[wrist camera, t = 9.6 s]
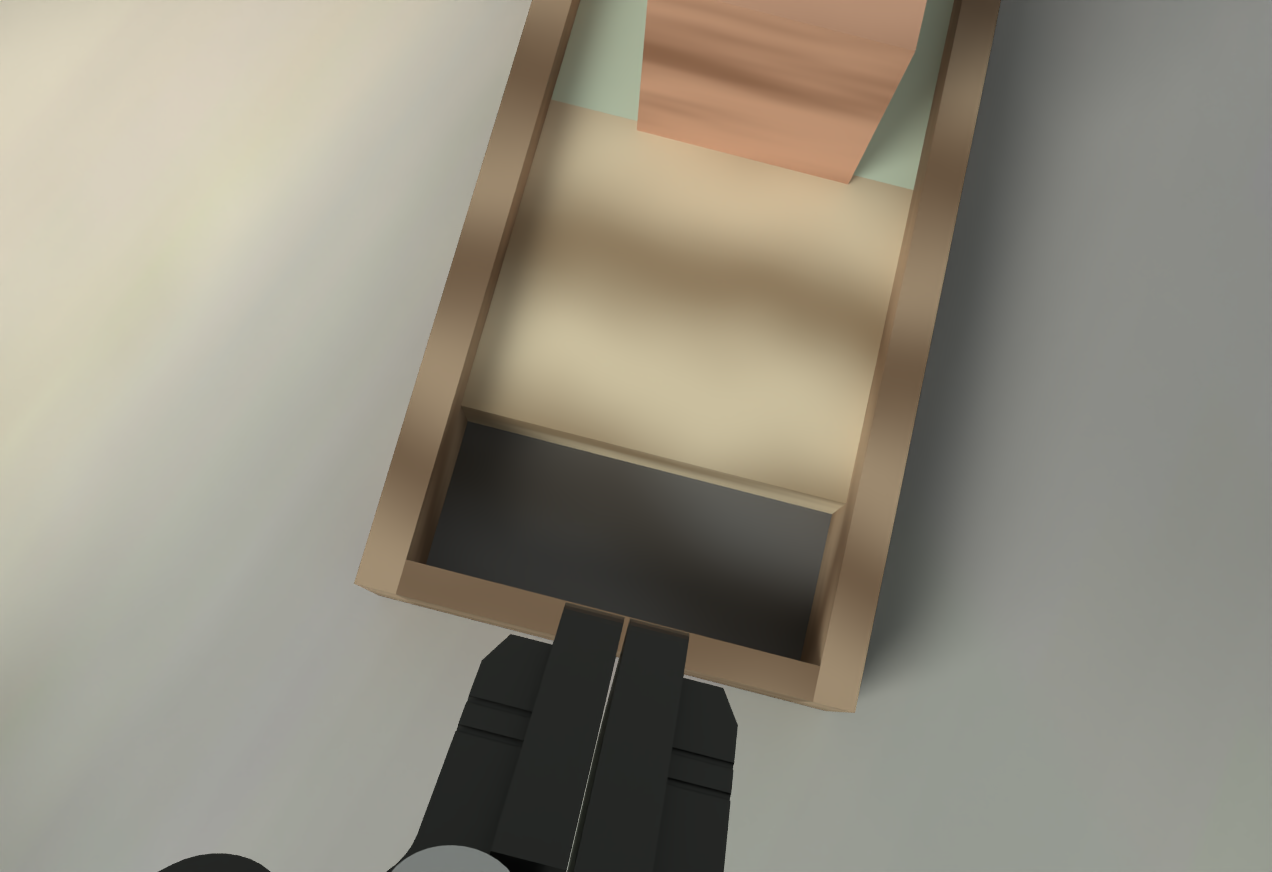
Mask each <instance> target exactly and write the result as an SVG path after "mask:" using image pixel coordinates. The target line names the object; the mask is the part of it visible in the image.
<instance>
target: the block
mask: <svg viewBox="0 0 1272 872" xmlns="http://www.w3.org/2000/svg"><path fill="white" fill-rule="evenodd" d="M926 3H927V0H647V12H646V24H645V36H644V48H643V60H642V72H641V84H640V96H639V108H638V120H637V130H638V131H642V132H646V133H650V134H653V135H657V136H661V137H665V138H669V139H673V140H677V141H681V142H685V143H688V144H692V145H696V146H700V147H704V148H708V149H712V150H716V151H720V152H724V153H727V154H731V155H735V156H739V157H743V158H747V159H751V160H755V161H759V162H763V163H766V164H770V165H774V166H778V167H782V168H786V169H790V170H794V171H798V172H802V173H805V174H809V175H813V176H817V177H821V178H825V179H829V180H833V181H837V182H841V183H844V184H849V182H850V180H851V178H852V176H853V174H854V172H855V170H856V168H857V166H858V164H859V162H860V160H861V158H862V156H863V154H864V152H865V150H866V148H867V146H868V144H869V142H870V140H871V138H872V136H873V134H874V132H875V130H876V128H877V126H878V124H879V122H880V120H881V118H882V116H883V114H884V112H885V110H886V108H887V107H888V105H889V103H890V101H891V99H892V97H893V95H894V93H895V91H896V89H897V87H898V85H899V83H900V81H901V79H902V77H903V75H904V73H905V71H906V69H907V67H908V65H909V63H910V61H911V59H912V57H913V55H914V53H915V51H916V46H917V42H918V38H919V33H920V29H921V24H922V20H923V16H924V11H925V7H926Z"/></svg>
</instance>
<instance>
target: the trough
mask: <svg viewBox="0 0 1272 872" xmlns="http://www.w3.org/2000/svg"><path fill="white" fill-rule="evenodd" d="M579 3H580V0H532V3H531V6H530V9H529V12H528V16H527V19H526V22H525V25H524V29H523V32H522V35H521V39H520V42H519V45H518V48H517V52H516V55H515V58H514V61H513V65H512V68H511V71H510V75H509V78H508V81H507V84H506V88H505V91H504V94H503V98H502V101H501V104H500V107H499V111H498V114H497V117H496V120H495V124H494V127H493V130H492V134H491V137H490V140H489V143H488V147H487V150H486V153H485V157H484V160H483V163H482V166H481V170H480V173H479V176H478V179H477V183H476V186H475V189H474V193H473V196H472V199H471V202H470V206H469V209H468V212H467V215H466V219H465V222H464V225H463V229H462V232H461V235H460V238H459V242H458V245H457V248H456V252H455V255H454V258H453V261H452V265H451V268H450V271H449V274H448V278H447V281H446V284H445V288H444V291H443V294H442V297H441V301H440V304H439V307H438V311H437V314H436V317H435V320H434V324H433V327H432V330H431V333H430V337H429V340H428V343H427V347H426V350H425V353H424V356H423V360H422V363H421V366H420V369H419V373H418V376H417V379H416V383H415V386H414V389H413V392H412V396H411V399H410V402H409V406H408V409H407V412H406V415H405V419H404V422H403V425H402V428H401V432H400V435H399V438H398V442H397V445H396V448H395V451H394V455H393V458H392V461H391V464H390V468H389V471H388V474H387V478H386V481H385V484H384V487H383V491H382V494H381V497H380V501H379V504H378V507H377V510H376V514H375V517H374V520H373V523H372V527H371V530H370V533H369V537H368V540H367V543H366V546H365V550H364V553H363V556H362V560H361V563H360V566H359V569H358V573H357V576H356V579H355V582H354V584H356V585H358V586H361V587H363V588H365V589H367V590H369V591H371V592H373V593H375V594H377V595H379V596H383V597H387V598H391V599H395V600H399V601H403V602H406V603H410V604H414V605H418V606H422V607H426V608H430V609H434V610H437V611H441V612H445V613H449V614H453V615H457V616H461V617H465V618H468V619H472V620H476V621H480V622H484V623H488V624H492V625H495V626H499V627H503V628H507V629H511V630H515V631H519V632H523V633H526V634H530V635H534V636H538V637H542V638H546V639H550V640H554V639H555V635H556V632H557V629H558V625H559V622H560V619H561V615H562V612H563V609H564V606H565V603H566V602H568V603H572V604H576V605H580V606H584V607H587V608H591V609H595V610H599V611H603V612H607V613H611V614H615V615H619V616H623V617H625V619H624V624H623V628H622V632H621V637H620V641H619V645H618V650H617V654H616V657H620V653H621V649H622V646H623V642H624V638H625V634H626V631H627V627H628V624H629V620H630V618H632V619H636V620H640V621H644V622H648V623H651V624H655V625H659V626H663V627H667V628H671V629H675V630H679V631H683V632H687V633H689V644H688V650H687V657H686V663H685V669H684V674H685V675H689V676H693V677H697V678H701V679H705V680H708V681H712V682H716V683H720V684H724V685H728V686H732V687H736V688H739V689H743V690H747V691H751V692H755V693H759V694H763V695H767V696H770V697H774V698H778V699H782V700H786V701H790V702H794V703H798V704H801V705H805V706H809V707H813V708H817V709H821V710H825V711H835V712H851V713H855V710H856V705H857V700H858V695H859V690H860V685H861V680H862V676H863V671H864V666H865V661H866V656H867V651H868V646H869V641H870V637H871V632H872V627H873V622H874V617H875V612H876V607H877V602H878V598H879V593H880V588H881V583H882V578H883V573H884V568H885V563H886V559H887V554H888V549H889V544H890V539H891V534H892V529H893V524H894V520H895V515H896V510H897V505H898V500H899V495H900V490H901V485H902V481H903V476H904V471H905V466H906V461H907V456H908V451H909V446H910V442H911V437H912V432H913V427H914V422H915V417H916V412H917V407H918V402H919V398H920V393H921V388H922V383H923V378H924V373H925V368H926V363H927V359H928V354H929V349H930V344H931V339H932V334H933V329H934V324H935V320H936V315H937V310H938V305H939V300H940V295H941V290H942V285H943V281H944V276H945V271H946V266H947V261H948V256H949V251H950V246H951V242H952V237H953V232H954V227H955V222H956V217H957V212H958V207H959V203H960V198H961V193H962V188H963V183H964V178H965V173H966V168H967V164H968V159H969V154H970V149H971V144H972V139H973V134H974V129H975V124H976V120H977V115H978V110H979V105H980V100H981V95H982V90H983V85H984V81H985V76H986V71H987V66H988V61H989V56H990V51H991V46H992V42H993V37H994V32H995V27H996V22H997V17H998V12H999V7H1000V3H1001V0H954V3H953V8H952V13H951V17H950V22H949V27H948V31H947V36H946V41H945V45H944V50H943V55H942V59H941V64H940V69H939V73H938V78H937V82H936V87H935V92H934V96H933V101H932V106H931V110H930V115H929V120H928V124H927V129H926V134H925V138H924V143H923V148H922V152H921V157H920V162H919V166H918V171H917V175H916V180H915V185H914V189H913V190H911V189H907V188H903V187H899V186H895V185H891V184H887V183H883V182H879V181H875V180H871V179H867V178H863V177H859V176H855V175H853V176H852V178H851V180H850V182H849V184H844V183H841V182H837V181H833V180H829V179H825V178H821V177H817V176H813V175H809V174H805V173H802V172H798V171H794V170H790V169H786V168H782V167H778V166H774V165H770V164H766V163H763V162H759V161H755V160H751V159H747V158H743V157H739V156H735V155H731V154H727V153H724V152H720V151H716V150H712V149H708V148H704V147H700V146H696V145H692V144H688V143H685V142H681V141H677V140H673V139H669V138H665V137H661V136H657V135H653V134H650V133H646V132H642V131H638V130H637V121H635V120H631V119H627V118H623V117H620V116H615V115H612V114H607V113H604V112H600V111H595V110H591V109H587V108H583V107H579V106H575V105H571V104H567V103H563V102H560V101H556V100H552V99H551V98H552V95H553V91H554V88H555V85H556V81H557V78H558V75H559V71H560V68H561V64H562V61H563V58H564V54H565V51H566V47H567V44H568V41H569V37H570V34H571V30H572V27H573V24H574V20H575V17H576V13H577V10H578V7H579Z"/></svg>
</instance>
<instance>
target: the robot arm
mask: <svg viewBox="0 0 1272 872" xmlns="http://www.w3.org/2000/svg"><path fill="white" fill-rule="evenodd" d="M624 619H625V617H623V616H619V615H615V614H611V613H607V612H603V611H599V610H595V609H591V608H587V607H584V606H580V605H576V604H572V603H568V602H566V603H565V606H564V609H563V612H562V615H561V619H560V622H559V625H558V629H557V632H556V635H555V639H554V642H553V645H551V644H547V643H543V642H539V641H536V640H532V639H528V638H524V637H520V636H516V635H512V634H510V635H509V636H508V637H507V638H506V639H505V640H504V641H503V642H502V643H501V644H499V645H498V646H497V647H496V648H495V649H494V650H493V651H492V652H491V653H490V654H488V655H487V656H486V657H485V658H484V659H483V660H482V662H481V664H480V667H479V670H478V672H477V675H476V678H475V680H474V683H473V686H472V689H471V691H470V694H469V697H468V701H467V702H466V705H465V707H464V710H463V713H462V715H461V718H460V721H459V724H458V728H457V731H456V732H455V734H454V737H453V740H452V742H451V745H450V748H449V750H448V753H447V756H446V759H445V761H444V764H443V767H442V769H441V772H440V775H439V777H438V780H437V783H436V786H435V788H434V791H433V794H432V796H431V799H430V802H429V804H428V807H427V810H426V812H425V815H424V818H423V821H422V823H421V826H420V829H419V831H418V834H417V836H416V838H415V840H414V842H413V845H412V846H411V848H410V849H409V850H408V852H407V853H406V855H405V856H404V857H403V858H402V859H401V860H400V861H399V862H398V863H397V864H396V865H395V866H393V867H392V868H391V869H389V870H388V871H387V872H566V870H567V866H568V862H569V857H570V853H571V849H572V844H573V840H574V836H575V831H576V827H577V823H578V818H579V814H580V810H581V805H582V801H583V797H584V801H583V805H582V810H581V814H580V818H579V823H578V827H577V831H576V836H575V840H574V844H573V849H572V853H571V857H570V862H569V866H568V870H567V872H724V863H725V852H726V842H727V831H728V821H729V810H730V795H731V790H732V779H733V765H734V758H735V748H736V737H737V727H738V725H737V722H736V720H735V717H734V715H733V712H732V709H731V707H730V704H729V702H728V699H727V697H726V694H725V691H724V689H723V688H721V687H717V686H713V685H709V684H705V683H701V682H698V681H694V680H690V679H686V678H683V676H684V669H685V663H686V657H687V650H688V644H689V633H687V632H683V631H679V630H675V629H671V628H667V627H663V626H659V625H655V624H651V623H648V622H644V621H640V620H636V619H632V618H630V620H629V624H628V627H627V631H626V634H625V638H624V642H623V646H622V649H621V653H620V657H619V661H618V664H617V668H616V672H615V676H614V679H613V683H612V687H611V691H610V694H609V698H608V702H607V705H606V709H605V713H604V717H603V721H602V725H601V729H600V733H599V737H598V741H597V745H596V740H597V736H598V732H599V727H600V723H601V719H602V714H603V710H604V706H605V702H606V697H607V693H608V689H609V684H610V680H611V676H612V671H613V667H614V663H615V658H616V654H617V650H618V645H619V641H620V637H621V632H622V628H623V624H624ZM595 745H596V749H595ZM594 749H595V753H594ZM593 753H594V757H593ZM592 758H593V762H592ZM591 762H592V766H591ZM590 766H591V770H590ZM589 771H590V775H589ZM588 775H589V779H588ZM587 779H588V783H587ZM586 784H587V788H586ZM585 788H586V792H585ZM584 792H585V796H584ZM159 872H270V871H269V870H268V869H266V868H265V867H264V866H262V865H261V864H259V863H257V862H255V861H253V860H251V859H248V858H245V857H242V856H238V855H232V854H205V855H198V856H194V857H191V858H187V859H184V860H182V861H179V862H177V863H175V864H172V865H170V866H168V867H166V868H164V869H163V870H161V871H159Z"/></svg>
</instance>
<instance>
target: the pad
mask: <svg viewBox="0 0 1272 872" xmlns="http://www.w3.org/2000/svg"><path fill="white" fill-rule="evenodd" d="M953 3H954V0H927V3H926V7H925V11H924V16H923V20H922V24H921V29H920V33H919V38H918V42H917V46H916V51H915V53H914V55H913V57H912V59H911V61H910V63H909V65H908V67H907V69H906V71H905V73H904V75H903V77H902V79H901V81H900V83H899V85H898V87H897V89H896V91H895V93H894V95H893V97H892V99H891V101H890V103H889V105H888V107H887V108H886V110H885V112H884V114H883V116H882V118H881V120H880V122H879V124H878V126H877V128H876V130H875V132H874V134H873V136H872V138H871V140H870V142H869V144H868V146H867V148H866V150H865V152H864V154H863V156H862V158H861V160H860V162H859V164H858V166H857V168H856V170H855V172H854V174H853V175H855V176H859V177H863V178H867V179H871V180H875V181H879V182H883V183H887V184H891V185H895V186H899V187H903V188H907V189H911V190H913V189H914V185H915V180H916V175H917V171H918V166H919V162H920V157H921V152H922V148H923V143H924V138H925V134H926V129H927V124H928V120H929V115H930V110H931V106H932V101H933V96H934V92H935V87H936V82H937V78H938V73H939V69H940V64H941V59H942V55H943V50H944V45H945V41H946V36H947V31H948V27H949V22H950V17H951V13H952V8H953ZM646 12H647V0H580V3H579V7H578V10H577V13H576V17H575V20H574V24H573V27H572V30H571V34H570V37H569V41H568V44H567V47H566V51H565V54H564V58H563V61H562V64H561V68H560V71H559V75H558V78H557V81H556V85H555V88H554V91H553V95H552V98H551V99H552V100H556V101H560V102H563V103H567V104H571V105H575V106H579V107H583V108H587V109H591V110H595V111H600V112H604V113H607V114H612V115H615V116H620V117H623V118H627V119H631V120H635V121H637V120H638V108H639V96H640V84H641V72H642V60H643V48H644V36H645V24H646Z"/></svg>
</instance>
